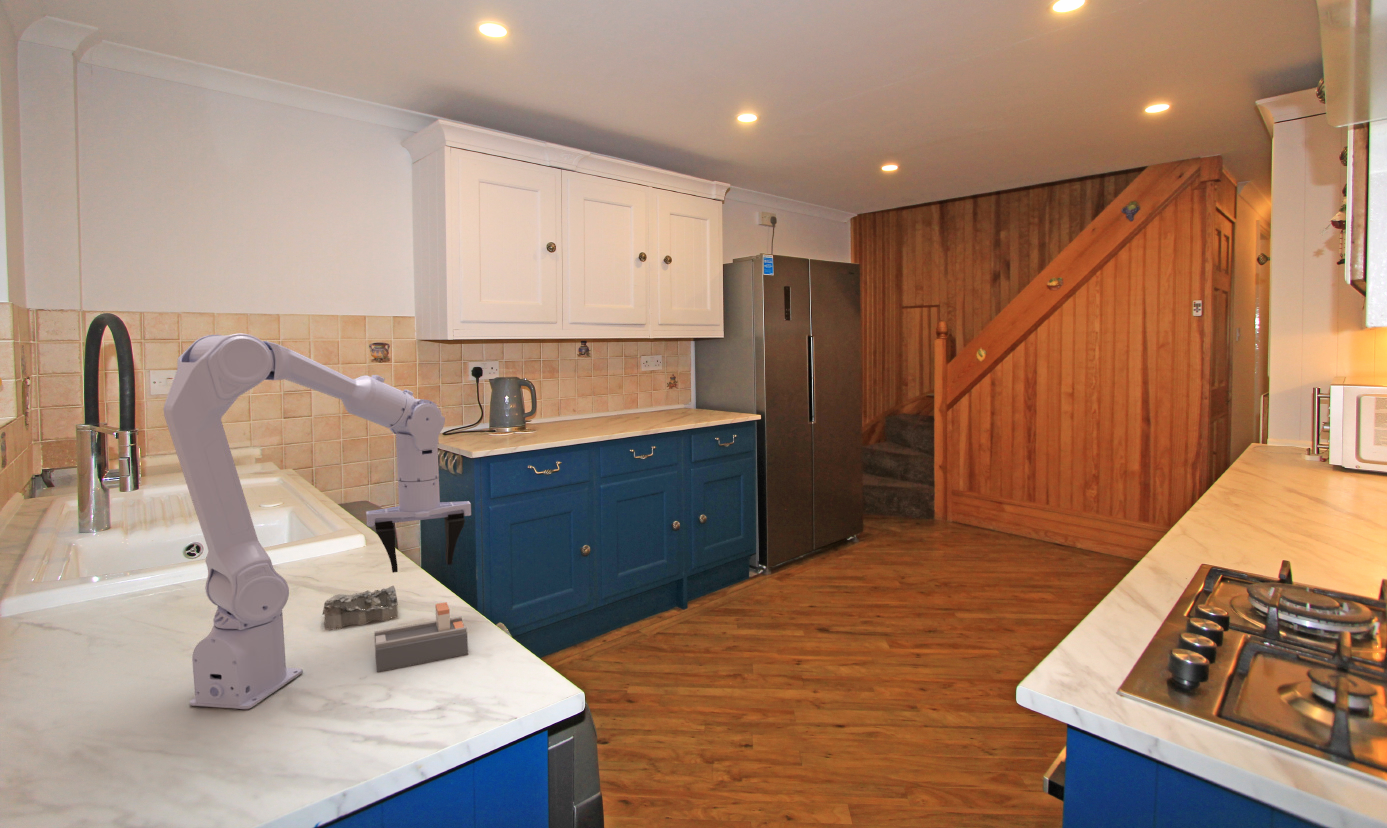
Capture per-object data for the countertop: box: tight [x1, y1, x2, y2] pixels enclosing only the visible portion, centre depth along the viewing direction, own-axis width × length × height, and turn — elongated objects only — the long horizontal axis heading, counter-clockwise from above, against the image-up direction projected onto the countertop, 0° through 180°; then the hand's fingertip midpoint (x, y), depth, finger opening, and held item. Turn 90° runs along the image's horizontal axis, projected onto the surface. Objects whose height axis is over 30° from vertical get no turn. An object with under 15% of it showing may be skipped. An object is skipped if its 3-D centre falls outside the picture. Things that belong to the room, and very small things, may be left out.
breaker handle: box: [435, 601, 451, 632], centre depth 95 cm, size 2×3×3 cm, turn 27°
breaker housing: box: [373, 616, 469, 673], centre depth 94 cm, size 12×6×4 cm, turn 117°
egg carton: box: [321, 585, 399, 630], centre depth 107 cm, size 11×8×4 cm
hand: (422, 566), depth 103 cm, fingers open, 7 cm apart
